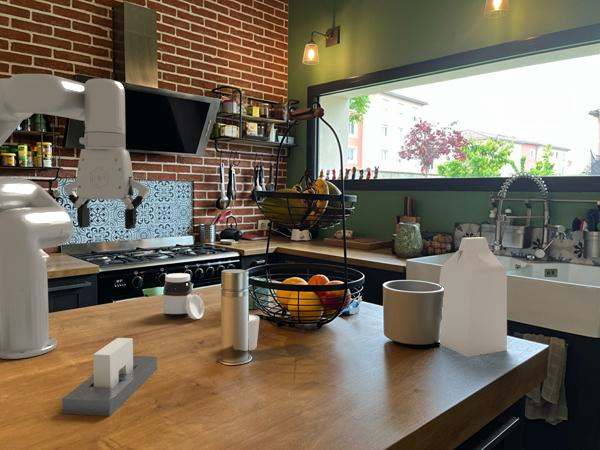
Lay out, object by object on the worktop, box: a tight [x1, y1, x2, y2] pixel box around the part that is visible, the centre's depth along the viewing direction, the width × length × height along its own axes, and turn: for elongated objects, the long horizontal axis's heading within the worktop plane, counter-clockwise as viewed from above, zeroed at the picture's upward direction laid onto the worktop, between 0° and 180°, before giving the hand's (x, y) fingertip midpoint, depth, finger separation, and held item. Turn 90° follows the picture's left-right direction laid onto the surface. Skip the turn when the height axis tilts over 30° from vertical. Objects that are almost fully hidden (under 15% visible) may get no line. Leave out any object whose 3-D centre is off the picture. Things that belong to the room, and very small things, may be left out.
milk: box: [438, 236, 508, 358], centre depth 113 cm, size 12×12×26 cm
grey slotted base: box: [61, 355, 158, 417], centre depth 87 cm, size 8×20×2 cm, turn 175°
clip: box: [92, 337, 134, 388], centre depth 87 cm, size 3×9×8 cm, turn 175°
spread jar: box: [162, 272, 205, 321], centre depth 134 cm, size 12×11×12 cm
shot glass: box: [248, 313, 260, 352], centre depth 110 cm, size 7×7×7 cm
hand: (107, 227), depth 97 cm, fingers open, 9 cm apart
